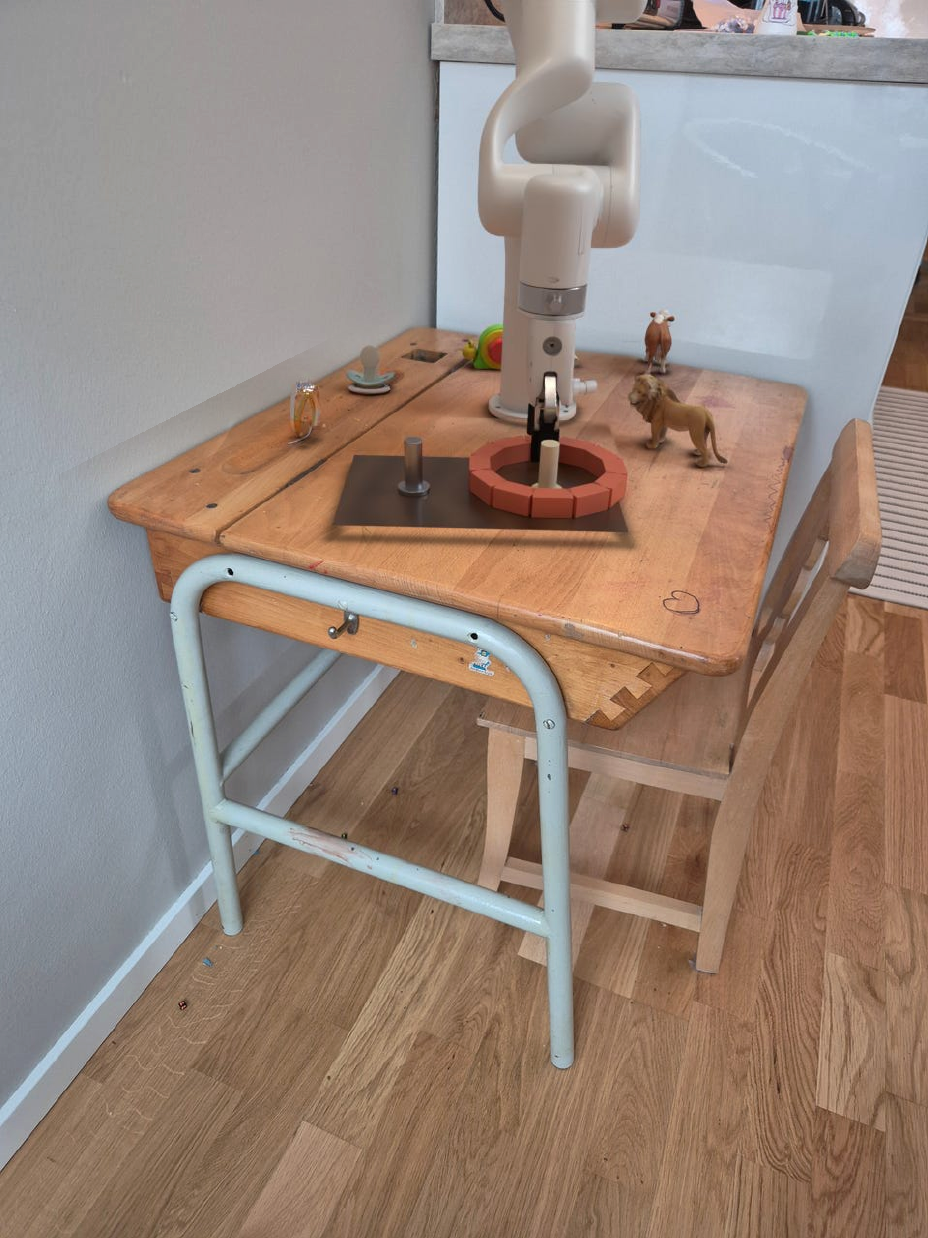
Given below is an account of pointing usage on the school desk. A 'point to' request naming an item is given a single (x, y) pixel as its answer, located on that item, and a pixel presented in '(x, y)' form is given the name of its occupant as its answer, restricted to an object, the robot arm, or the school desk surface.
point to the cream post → (548, 465)
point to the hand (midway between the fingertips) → (541, 446)
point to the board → (454, 497)
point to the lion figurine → (673, 416)
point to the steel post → (413, 469)
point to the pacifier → (369, 374)
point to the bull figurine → (658, 339)
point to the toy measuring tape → (489, 349)
